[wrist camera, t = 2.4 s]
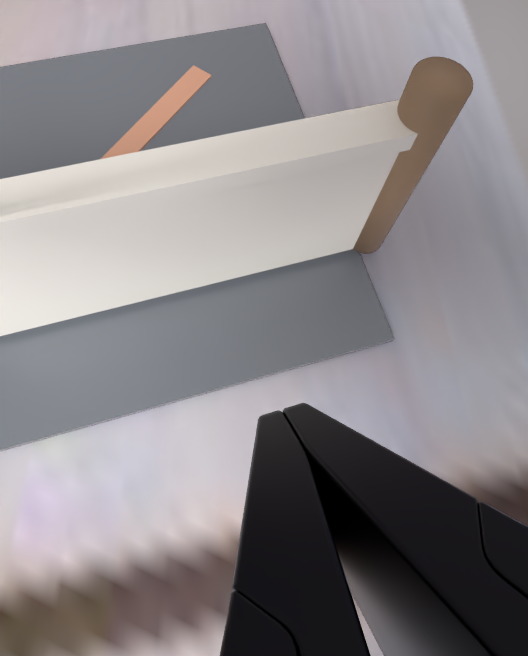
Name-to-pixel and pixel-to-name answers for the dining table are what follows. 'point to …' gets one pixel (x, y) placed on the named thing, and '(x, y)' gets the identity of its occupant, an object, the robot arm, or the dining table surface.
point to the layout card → (182, 307)
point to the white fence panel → (217, 204)
